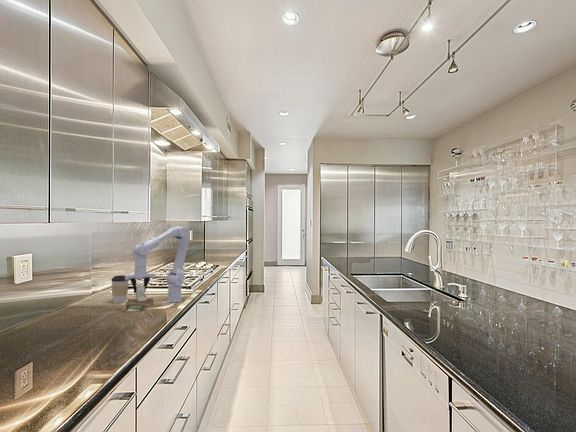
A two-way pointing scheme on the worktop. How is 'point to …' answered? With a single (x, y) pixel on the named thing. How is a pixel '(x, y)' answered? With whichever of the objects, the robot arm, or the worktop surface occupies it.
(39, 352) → the worktop surface
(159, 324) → the worktop surface
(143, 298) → the block
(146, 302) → the wooden corner frame
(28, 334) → the worktop surface
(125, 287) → the coffee cup
